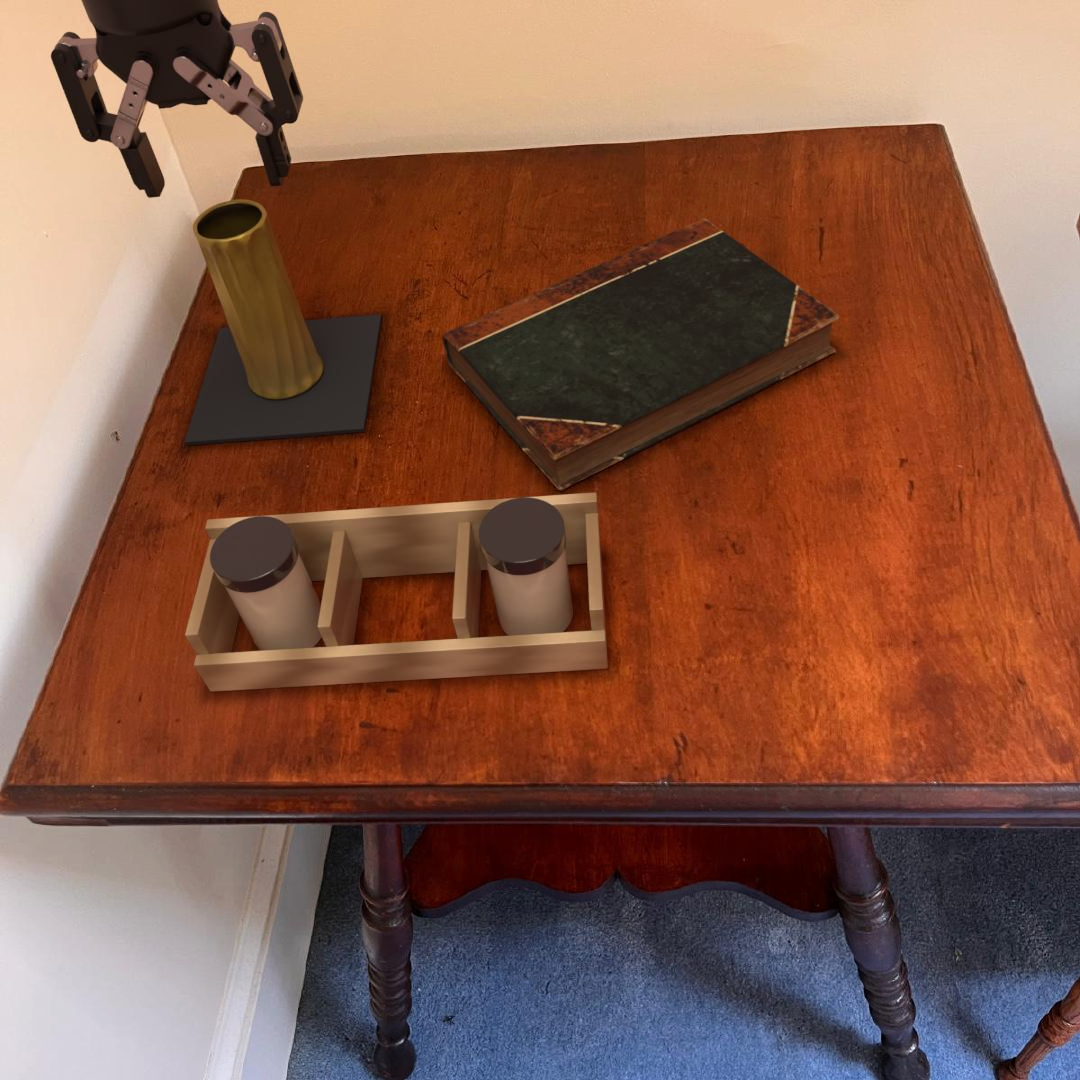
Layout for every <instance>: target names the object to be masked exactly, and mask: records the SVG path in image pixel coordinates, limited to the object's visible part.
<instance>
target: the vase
mask: <svg viewBox="0 0 1080 1080" xmlns="http://www.w3.org/2000/svg"><path fill="white" fill-rule="evenodd" d="M192 230H193V234H194V236H195V239H196V241H197V243H198V246H199V248H200V251H201V254H202V256H203V259H204V262H205V265H206V267H207V270H208V272H209V275H210V278H211V280H212V282H213V285H214V288H215V290H216V294H217V297H218V299H219V302H220V304H221V307H222V310H223V312H224V315H225V319H226V322H227V326H228V327H229V328H230V330H231V333H232V335H233V338H234V340H235V343H236V346H237V349H238V352H239V354H240V357H241V359H242V362H243V365H244V367H245V371H246V374H247V379H248V384H249V387H250V388H251V390H252V391H253V392H254V393H256V394H257V395H259V396H261V397H263V398H267V399H276V400H278V399H287V398H291V397H294V396H297V395H300V394H302V393H304V392H306V391H307V390H308V389H310V388H311V387H312V386H313V385H315V384H316V383H317V382H318V380H319V379H320V377H321V375H322V373H323V362H322V360H321V358H320V356H319V355H318V353H317V351H316V348H315V346H314V343H313V340H312V338H311V335H310V333H309V330H308V328H307V326H306V323H305V321H306V320H305V318H304V316H303V312H302V310H301V307H300V305H299V301H298V299H297V297H296V293H295V291H294V288H293V286H292V282H291V280H290V278H289V274H288V271H287V269H286V265H285V262H284V259H283V257H282V254H281V251H280V249H279V245H278V243H277V240H276V237H275V234H274V231H273V228H272V225H271V222H270V219H269V216H268V212H267V211H266V209H265V207H264V206H263V205H261V204H260V203H258V202H256V201H254V200H250V199H243V198H242V199H239V198H238V199H232V200H226V201H222V202H219V203H217V204H213V205H212V206H210V207H208V208H207V209H205V210H204V211H202V212H201V213H200V214H199V215H198V216H197V217H196V219H195V220H194V221H193V224H192Z"/></svg>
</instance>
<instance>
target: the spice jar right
mask: <svg viewBox="0 0 1080 1080" xmlns="http://www.w3.org/2000/svg"><path fill="white" fill-rule="evenodd" d="M524 497H525V496H524ZM528 497H529V496H526V497H525V498H522V497H514V498H515V499H511V500H507V501H505V502H502V503H500V504H498V505H497V506H495V507H494V508H492V509H491V510H490V511H489V512H488V513H487V514H486V515H485V517H484V518H483V520H482V522H481V524H480V527H479V540H480V544H481V549H482V553H483V556H484V558H485V559H486V564H487V568H488V570H487V573H488V577H489V582H490V586H491V591H492V596H493V601H494V604H495V605H494V606H495V609H496V615H497V617H498V623H499V626H500V628H501V629H502V630H503V632H504V633H505V634H506V636H512V635H528V634H545V633H561V632H566V630H567V629H568V627H569V625H570V624H571V622H572V619H573V615H574V606H573V598H572V597H573V596H572V589H571V581H570V573H569V565H568V564H567V556H566V548H565V545H566V534H565V525H564V520H563V517H562V515H561V514H560V512H559V511H558V510H557V509H556V508H555V507H554V506H553V505H551V504H549V503H548V502H546V501H543V500H540V499H536V498H528Z"/></svg>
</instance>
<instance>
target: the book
mask: <svg viewBox="0 0 1080 1080" xmlns="http://www.w3.org/2000/svg"><path fill="white" fill-rule="evenodd" d="M839 320H840V315H839V314H838V313H836V312H835V311H833V309H832V308H829V307H828V306H827V305H825V304H824V303H822V301H820V300H818V299H817V298H816V297H814V296H813V295H812V294H810V293H809V292H807V291H806V290H805V289H803V288H802V287H801V286H799V285H798V284H797V283H795V282H794V281H793V280H791V279H790V278H788V277H787V276H786V275H784V274H783V273H782V272H780V271H778V270H777V269H776V268H775V267H773V266H772V265H771V264H770V263H769V262H766V261H765V260H764V259H762V258H761V257H759V256H758V255H757V254H756V253H755V252H753V251H751V250H750V249H749V248H747V247H745V246H744V245H743V244H742V243H740V242H739V241H737V239H735V238H733V237H732V236H731V235H729V234H728V233H727V232H725V231H723V230H722V229H721V228H720V227H718V226H717V225H715V224H714V223H713V222H712V221H710V220H709V219H706V218H702V219H700V220H697V221H695V222H693V223H690V224H687V225H686V226H683V227H681V228H678V229H676V230H674V231H671V232H669V233H667V234H665V235H663V236H660V237H658V238H656V239H653V240H651V241H649V242H646V243H644V244H642V245H640V246H638V247H636V248H633V249H631V250H629V251H627V252H624V253H622V254H620V255H618V256H617V255H616V256H615V257H613V258H610V259H609V260H605V261H604V262H602V263H599V264H596V265H595V266H593V267H590V268H587V269H586V270H584V271H583V270H582V271H581V272H579V273H577V274H574V275H571V276H570V277H568V278H566V279H563V280H561V281H559V282H557V283H554V284H552V285H550V286H548V287H545V288H542V289H540V290H538V291H537V292H534V293H531V294H529V295H527V296H524V297H522V298H521V299H518V300H516V301H513V302H511V303H509V304H506V305H505V306H502V307H500V308H498V309H495V310H493V311H491V312H488V313H486V314H484V315H482V316H479V317H477V318H475V319H473V320H471V321H468V322H466V323H464V324H462V325H459V326H457V327H455V328H453V329H450V330H448V331H447V332H444V333H442V336H441V337H442V345H443V350H444V354H445V358H446V361H447V364H448V366H449V367H450V368H451V370H452V371H453V372H454V373H455V374H456V375H457V376H458V377H459V378H460V379H461V380H462V382H463V383H464V384H465V385H466V386H467V387H468V389H469V390H470V391H471V392H472V393H473V394H474V395H475V397H476V398H477V399H478V401H480V402H481V404H482V405H483V406H484V407H485V408H486V410H487V411H488V412H489V413H490V414H491V416H492V417H493V418H494V420H496V422H497V423H498V424H499V425H500V427H501V428H502V429H503V430H504V431H505V432H506V433H507V434H508V435H509V436H510V438H511V439H512V440H513V441H514V442H515V443H516V444H517V446H518V447H519V448H520V449H521V450H522V451H523V452H524V453H525V454H526V455H527V457H528V458H529V459H530V460H531V461H532V462H533V464H534V465H536V467H537V468H538V469H539V470H540V471H541V472H542V474H544V476H545V477H546V478H547V479H548V480H549V482H551V484H552V485H553V486H554V487H555V488H556V489H557V490H558V491H560V492H561V491H563V490H566V489H567V488H570V487H571V486H573V485H575V484H577V483H579V482H581V481H583V480H585V479H587V478H588V477H590V476H593V475H594V474H596V473H598V472H601V471H603V470H605V469H606V468H608V467H610V466H613V465H615V464H616V463H619V462H620V461H623V460H624V459H627V458H629V457H630V456H633V455H635V454H636V453H639V452H640V451H642V450H644V449H647V448H648V447H650V446H653V445H655V444H657V443H659V442H661V441H662V440H663V441H664V440H665V439H666V438H669V437H671V436H673V435H674V434H677V433H678V432H680V431H682V430H685V429H687V428H689V427H690V426H692V425H694V424H697V423H698V422H700V421H703V420H705V419H707V418H709V417H710V416H713V415H714V414H717V413H718V412H720V411H722V410H724V409H726V408H728V407H730V406H733V405H734V404H736V403H738V402H740V401H742V400H745V399H746V398H748V397H750V396H752V395H754V394H756V393H759V392H760V391H762V390H763V389H766V388H768V387H770V386H772V385H773V384H775V383H777V382H779V381H782V380H783V379H785V378H787V377H789V376H791V375H793V374H795V373H797V372H799V371H801V370H803V369H805V368H807V367H809V366H811V365H814V363H816V362H819V361H820V360H823V359H824V358H827V357H828V356H830V355H832V354H834V353H836V352H837V350H836V348H834V347H833V346H832V345H831V344H830V343H831V336H832V326H833V324H834V322H836V321H839Z"/></svg>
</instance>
